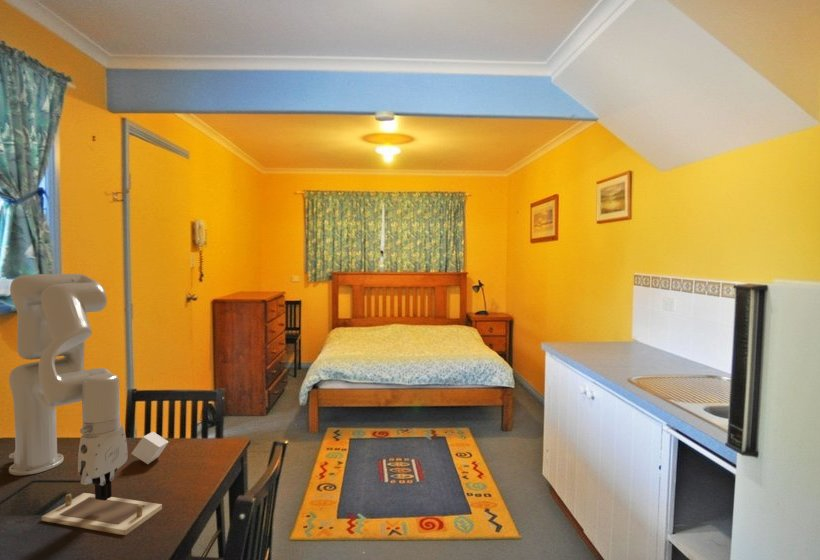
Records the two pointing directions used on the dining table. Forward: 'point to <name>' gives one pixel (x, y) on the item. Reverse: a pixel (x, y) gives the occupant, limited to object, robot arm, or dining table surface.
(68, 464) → the dining table surface
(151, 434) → the white cube
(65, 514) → the serving tray
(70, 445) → the dining table surface
